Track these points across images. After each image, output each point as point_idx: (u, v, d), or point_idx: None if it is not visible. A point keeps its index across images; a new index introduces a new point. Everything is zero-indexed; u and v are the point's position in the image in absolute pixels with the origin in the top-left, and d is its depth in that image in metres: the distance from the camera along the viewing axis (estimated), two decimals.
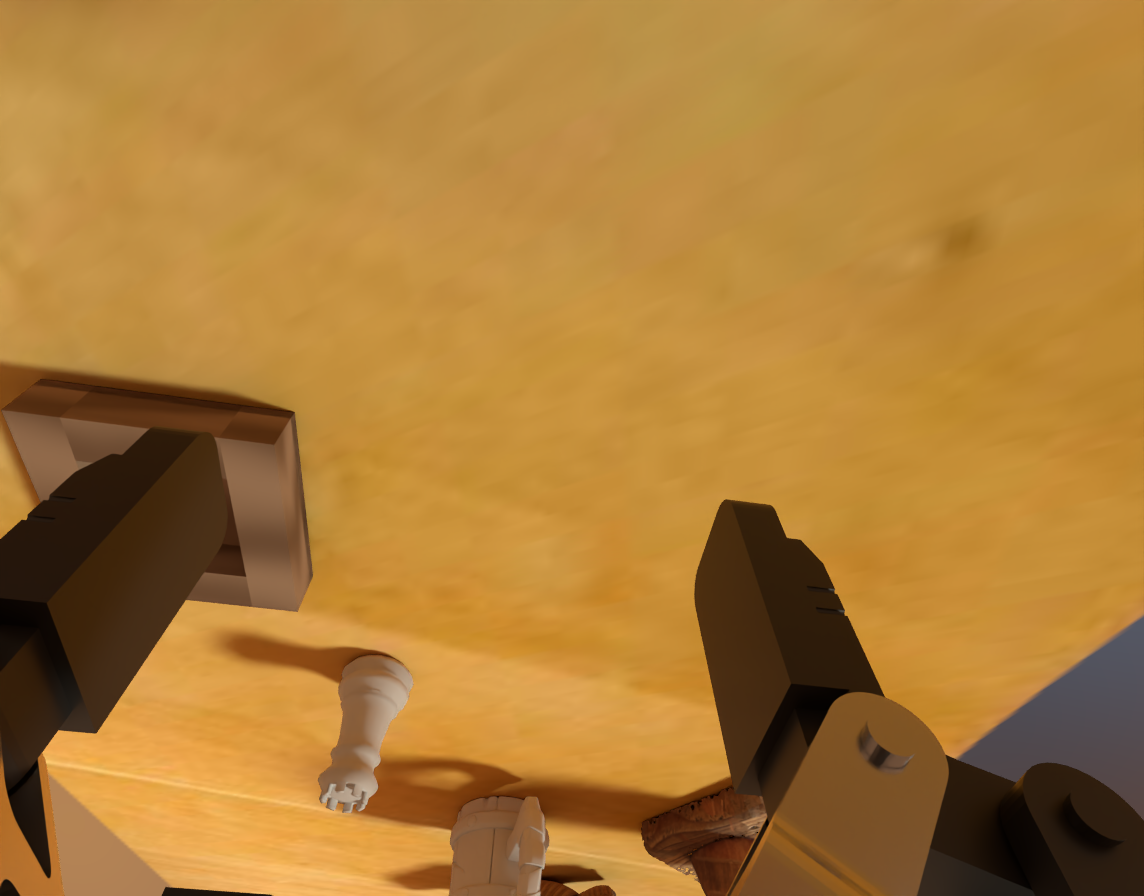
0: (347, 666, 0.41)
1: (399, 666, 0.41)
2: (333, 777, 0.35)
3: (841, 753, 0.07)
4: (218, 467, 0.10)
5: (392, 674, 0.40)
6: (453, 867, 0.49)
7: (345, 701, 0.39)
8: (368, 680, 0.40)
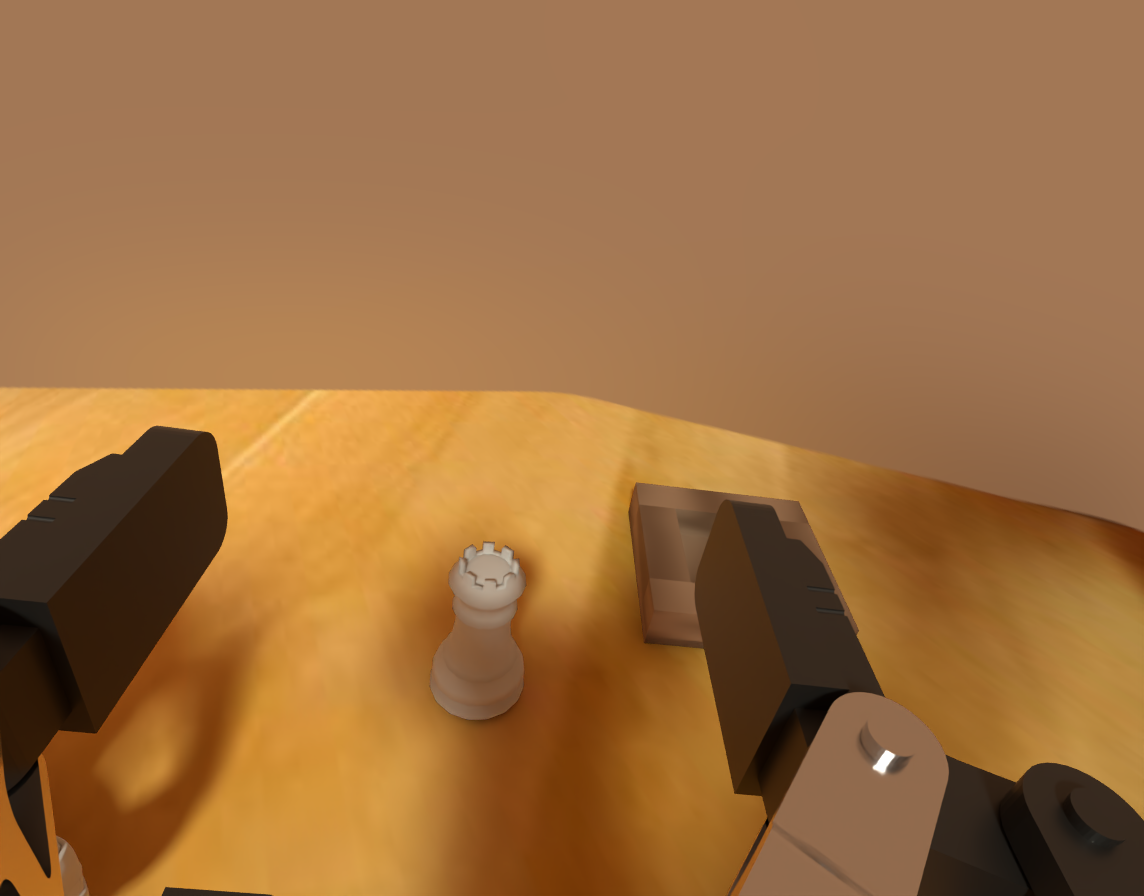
0: None
1: (509, 705, 0.30)
2: None
3: (841, 753, 0.07)
4: (218, 467, 0.10)
5: None
6: None
7: None
8: (520, 660, 0.31)
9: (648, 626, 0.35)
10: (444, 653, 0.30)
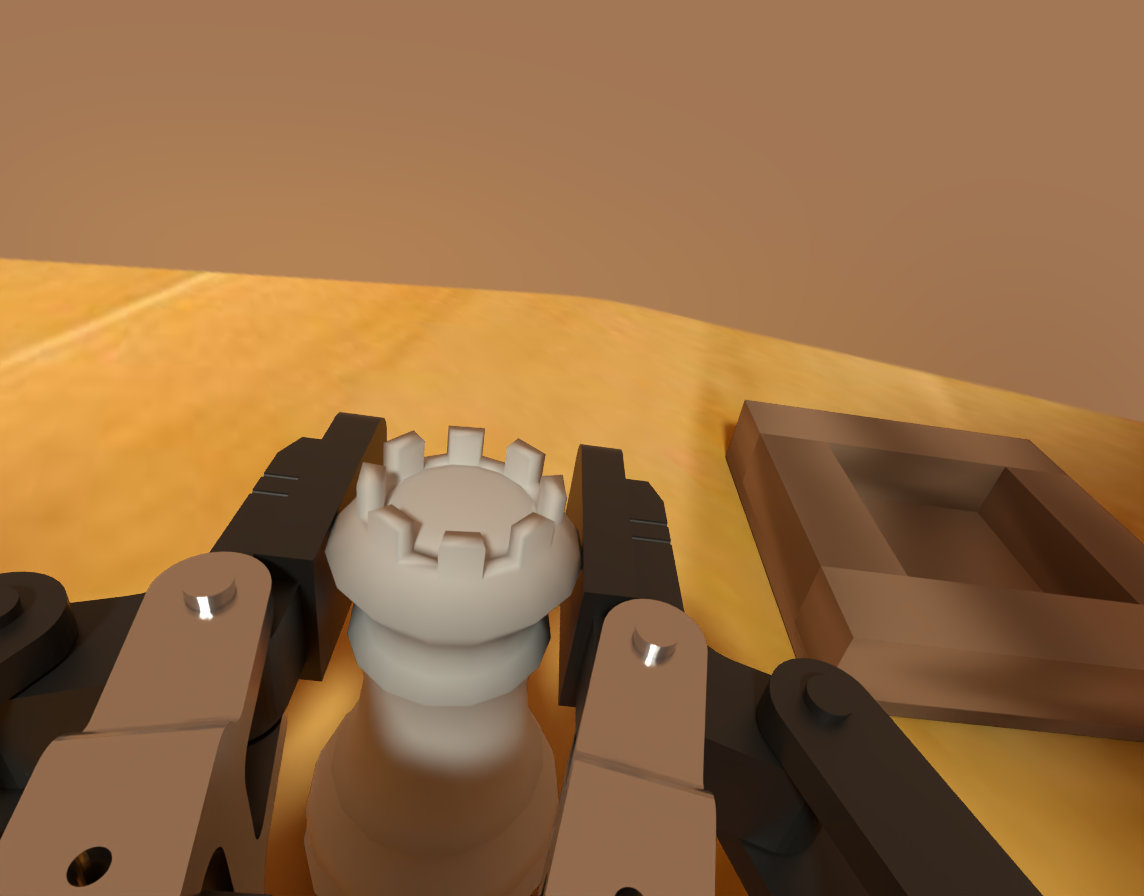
0: None
1: None
2: None
3: (620, 662, 0.07)
4: None
5: None
6: None
7: None
8: (550, 770, 0.12)
9: None
10: (337, 759, 0.11)
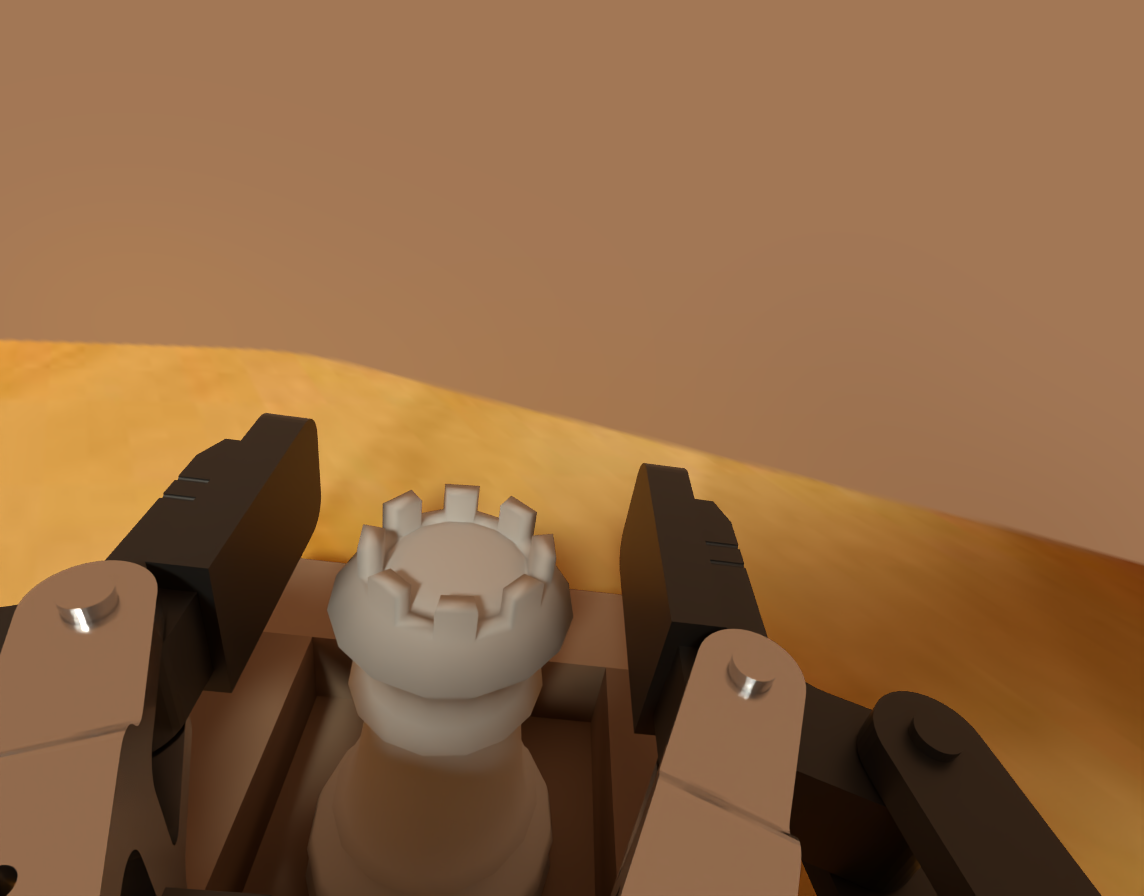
0: None
1: None
2: None
3: (713, 690, 0.07)
4: (316, 452, 0.11)
5: None
6: None
7: None
8: (544, 806, 0.12)
9: None
10: (338, 798, 0.11)
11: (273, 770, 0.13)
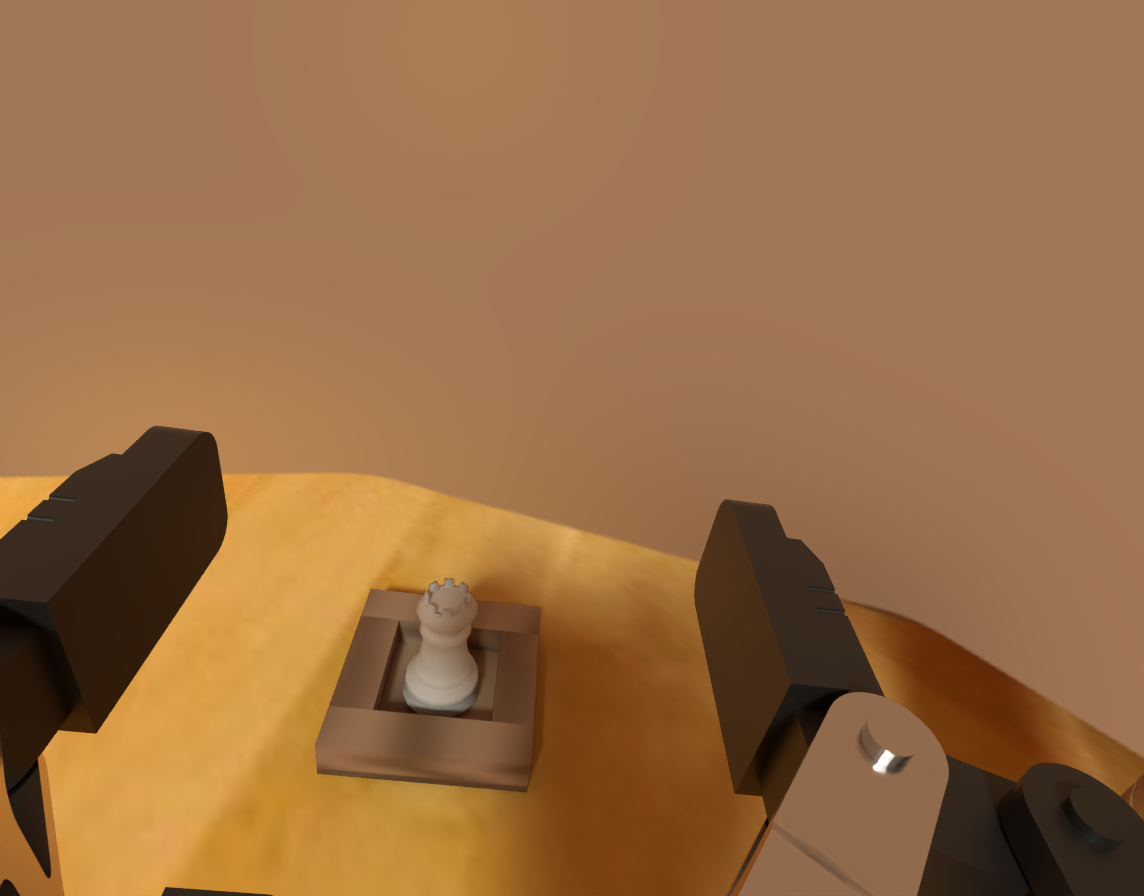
0: None
1: (465, 708, 0.38)
2: (471, 597, 0.36)
3: (841, 753, 0.07)
4: (218, 467, 0.10)
5: None
6: None
7: None
8: (476, 671, 0.39)
9: None
10: (414, 665, 0.38)
11: (389, 662, 0.40)
